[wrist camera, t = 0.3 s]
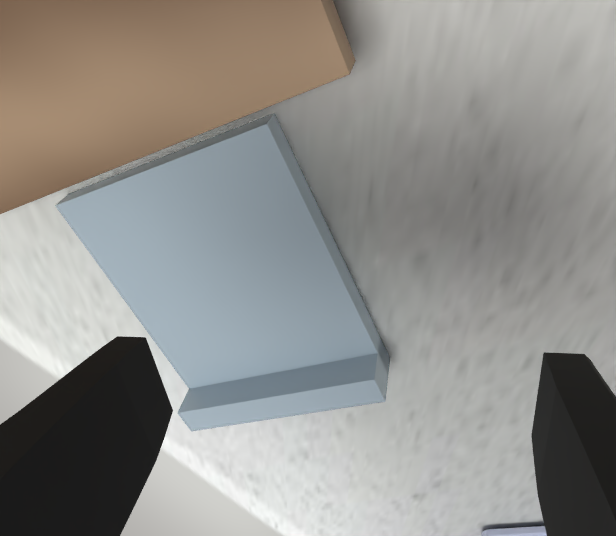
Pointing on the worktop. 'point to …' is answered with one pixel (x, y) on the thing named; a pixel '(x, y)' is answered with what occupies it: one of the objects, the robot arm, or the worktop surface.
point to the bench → (145, 78)
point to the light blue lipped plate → (235, 279)
